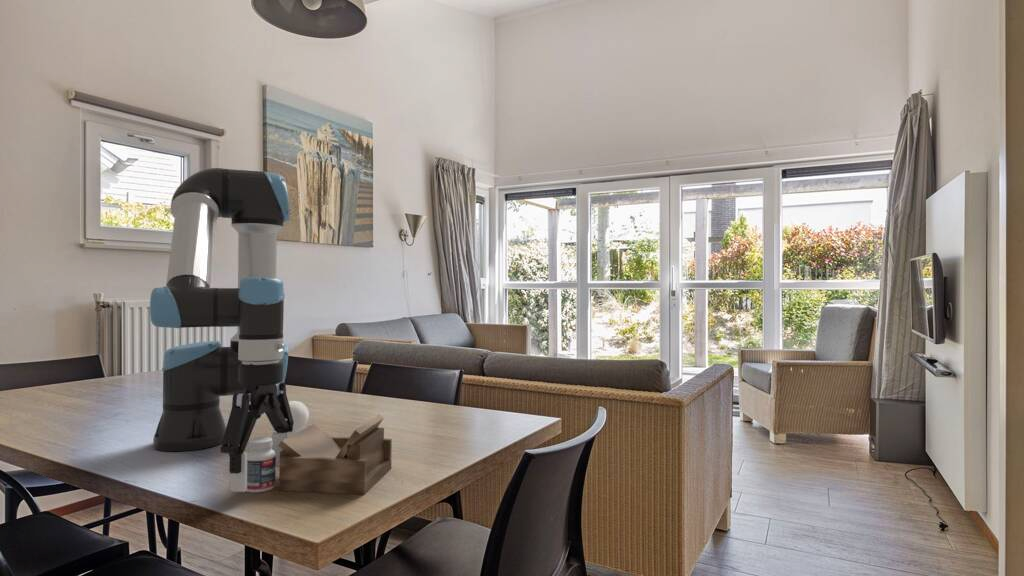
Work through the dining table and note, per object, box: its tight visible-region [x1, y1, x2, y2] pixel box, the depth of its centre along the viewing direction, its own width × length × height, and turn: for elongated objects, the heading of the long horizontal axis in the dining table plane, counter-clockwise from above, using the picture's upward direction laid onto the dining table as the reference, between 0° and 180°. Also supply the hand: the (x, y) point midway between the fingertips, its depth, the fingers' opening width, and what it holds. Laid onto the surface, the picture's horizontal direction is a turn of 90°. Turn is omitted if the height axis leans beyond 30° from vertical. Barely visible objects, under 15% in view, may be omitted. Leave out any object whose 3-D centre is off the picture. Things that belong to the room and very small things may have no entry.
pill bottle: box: [246, 436, 277, 494], centre depth 105 cm, size 5×5×9 cm
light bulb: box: [285, 400, 310, 437], centre depth 130 cm, size 7×7×11 cm
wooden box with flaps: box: [278, 413, 393, 496], centre depth 111 cm, size 17×15×11 cm
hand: (260, 478), depth 105 cm, fingers open, 13 cm apart
